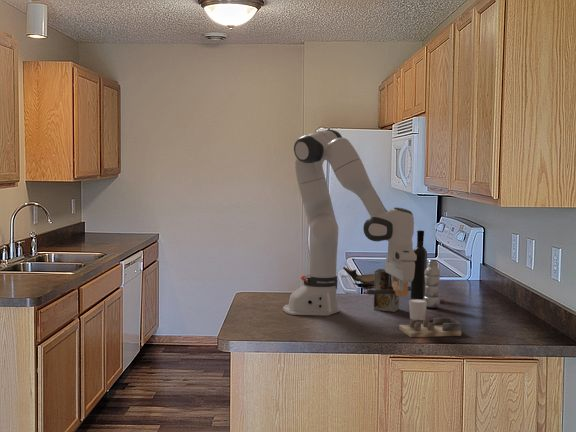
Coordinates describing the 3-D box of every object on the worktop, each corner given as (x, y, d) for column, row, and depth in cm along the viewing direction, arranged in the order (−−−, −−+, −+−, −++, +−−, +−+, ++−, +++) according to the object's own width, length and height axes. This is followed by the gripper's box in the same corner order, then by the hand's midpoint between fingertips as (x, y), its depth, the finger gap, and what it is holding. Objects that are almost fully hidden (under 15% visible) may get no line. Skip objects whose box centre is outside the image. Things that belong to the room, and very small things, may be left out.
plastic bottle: (439, 309, 277) (441, 261, 275) (422, 308, 278) (424, 260, 277) (439, 306, 283) (441, 259, 282) (422, 305, 285) (424, 258, 283)
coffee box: (399, 309, 277) (400, 270, 276) (394, 312, 271) (396, 272, 270) (377, 306, 281) (379, 268, 279) (373, 309, 275) (374, 270, 274)
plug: (368, 295, 245) (369, 282, 244) (365, 293, 248) (366, 279, 248) (407, 295, 248) (408, 282, 247) (403, 293, 252) (403, 280, 251)
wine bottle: (413, 296, 304) (416, 229, 301) (426, 297, 301) (428, 230, 298) (409, 298, 299) (412, 230, 296) (422, 299, 296) (425, 231, 293)
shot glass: (422, 321, 257) (423, 303, 256) (405, 318, 261) (406, 301, 260) (428, 318, 263) (429, 300, 262) (412, 315, 267) (412, 298, 266)
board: (410, 337, 234) (410, 325, 234) (398, 329, 245) (399, 318, 245) (462, 335, 238) (462, 324, 238) (449, 327, 249) (449, 316, 249)
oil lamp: (386, 293, 309) (387, 276, 308) (336, 283, 330) (337, 267, 329) (414, 287, 325) (415, 271, 324) (365, 278, 346) (365, 263, 345)
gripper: (382, 247, 257) (379, 283, 258) (402, 256, 237) (399, 295, 238) (397, 248, 258) (395, 283, 260) (418, 256, 238) (416, 295, 240)
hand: (397, 289), depth 249 cm, fingers closed on plug, 4 cm apart
